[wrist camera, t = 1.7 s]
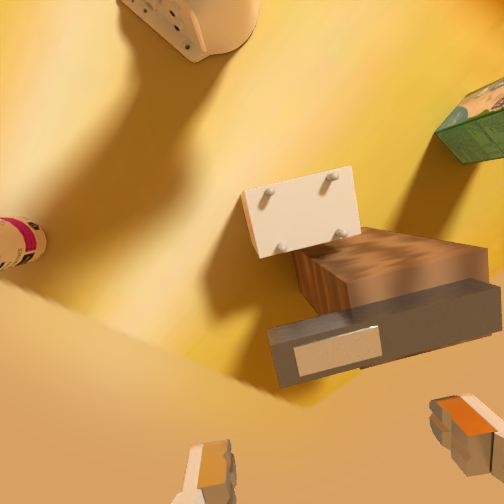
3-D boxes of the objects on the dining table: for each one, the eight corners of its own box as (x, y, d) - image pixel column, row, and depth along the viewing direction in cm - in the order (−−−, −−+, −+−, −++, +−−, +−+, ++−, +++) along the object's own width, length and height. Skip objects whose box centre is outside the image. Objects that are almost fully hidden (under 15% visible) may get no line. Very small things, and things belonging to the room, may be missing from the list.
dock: (251, 241, 49) (261, 261, 32) (240, 194, 48) (244, 189, 30) (320, 224, 50) (368, 235, 32) (312, 177, 48) (358, 162, 31)
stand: (300, 291, 52) (360, 369, 28) (290, 244, 50) (346, 283, 26) (370, 274, 53) (491, 335, 28) (363, 226, 51) (487, 248, 26)
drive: (275, 368, 27) (280, 389, 24) (265, 329, 26) (270, 346, 23) (473, 316, 27) (503, 330, 24) (470, 277, 27) (501, 287, 24)
